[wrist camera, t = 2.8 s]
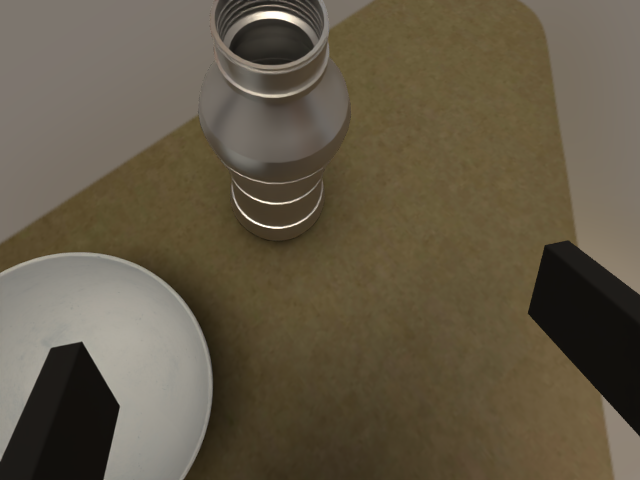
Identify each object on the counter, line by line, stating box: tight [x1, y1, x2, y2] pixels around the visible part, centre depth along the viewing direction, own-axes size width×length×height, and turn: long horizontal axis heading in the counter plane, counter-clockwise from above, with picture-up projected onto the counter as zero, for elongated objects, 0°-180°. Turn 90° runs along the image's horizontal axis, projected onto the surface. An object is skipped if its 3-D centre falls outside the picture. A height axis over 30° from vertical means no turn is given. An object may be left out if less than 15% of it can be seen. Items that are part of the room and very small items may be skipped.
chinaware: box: [0, 252, 213, 480], centre depth 25 cm, size 15×15×8 cm
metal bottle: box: [198, 0, 351, 241], centre depth 23 cm, size 6×7×20 cm
